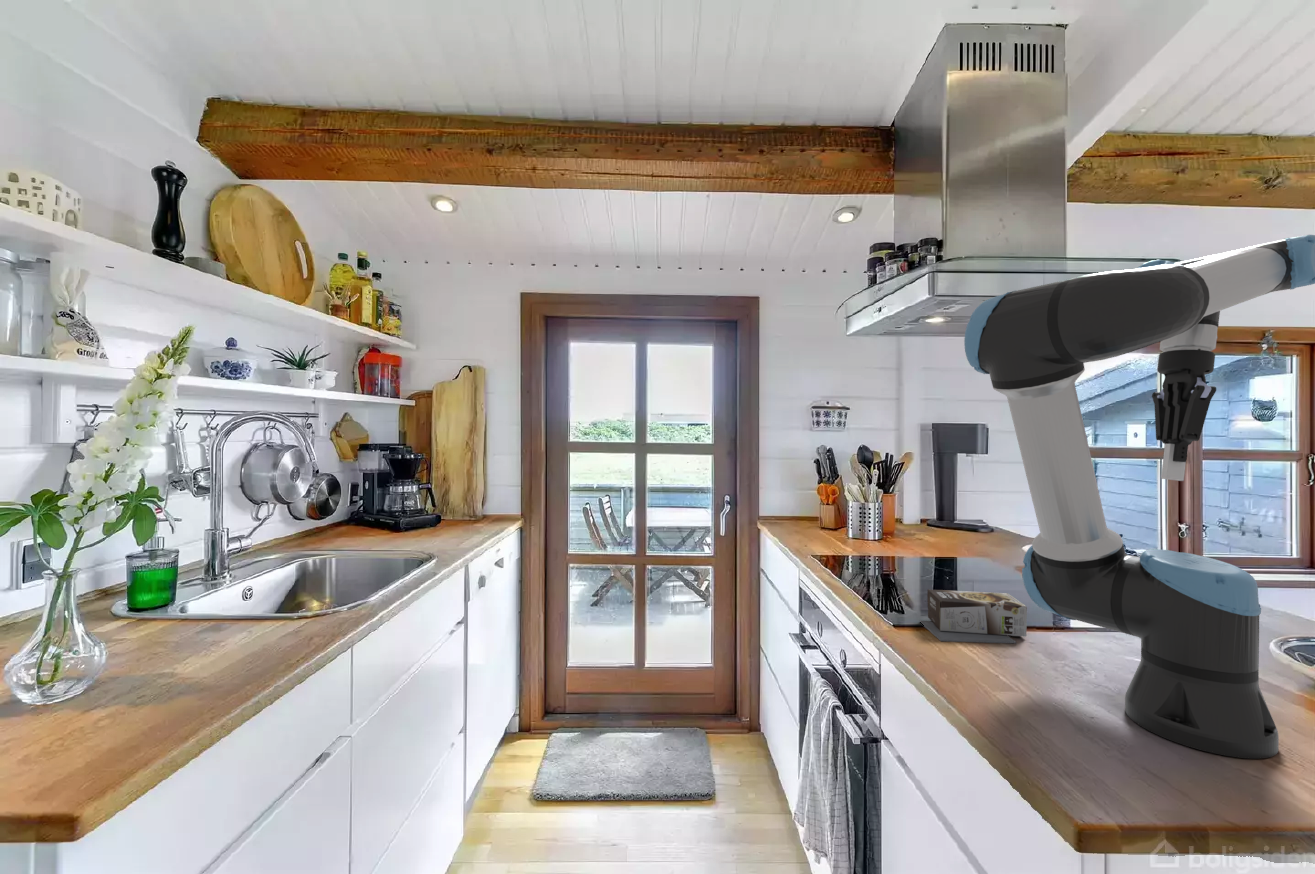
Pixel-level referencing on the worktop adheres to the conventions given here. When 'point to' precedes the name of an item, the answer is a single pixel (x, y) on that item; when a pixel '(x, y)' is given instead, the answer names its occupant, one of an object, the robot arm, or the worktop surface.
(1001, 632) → the coffee box
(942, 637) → the mat
